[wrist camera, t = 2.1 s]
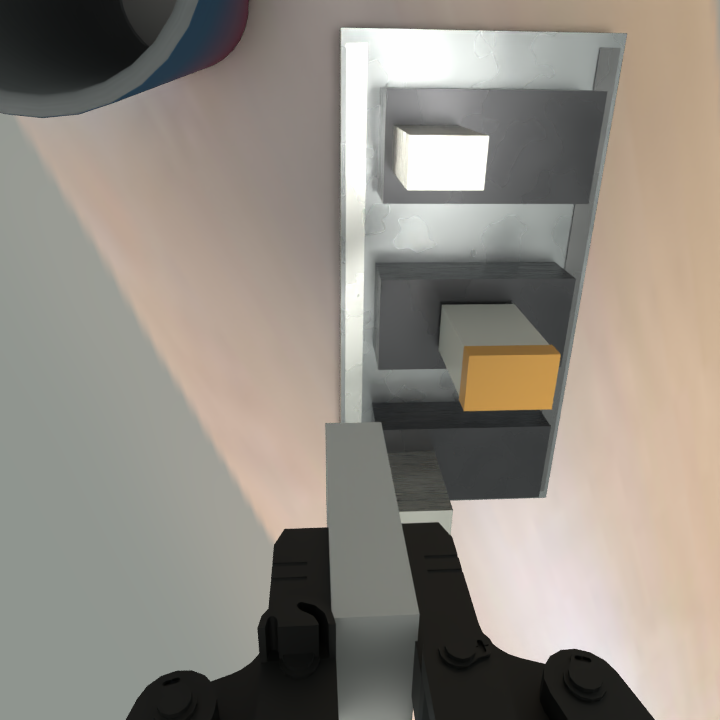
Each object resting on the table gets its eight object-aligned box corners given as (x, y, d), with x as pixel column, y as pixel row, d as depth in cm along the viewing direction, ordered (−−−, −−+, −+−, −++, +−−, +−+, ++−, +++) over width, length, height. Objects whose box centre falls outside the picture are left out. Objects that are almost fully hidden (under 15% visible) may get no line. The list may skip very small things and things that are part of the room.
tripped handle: (440, 303, 25) (469, 355, 20) (515, 302, 25) (560, 354, 20) (437, 350, 26) (463, 411, 21) (509, 349, 26) (551, 409, 21)
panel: (339, 30, 24) (350, 10, 17) (610, 35, 25) (735, 18, 17) (340, 486, 33) (346, 603, 26) (536, 480, 34) (597, 593, 27)
